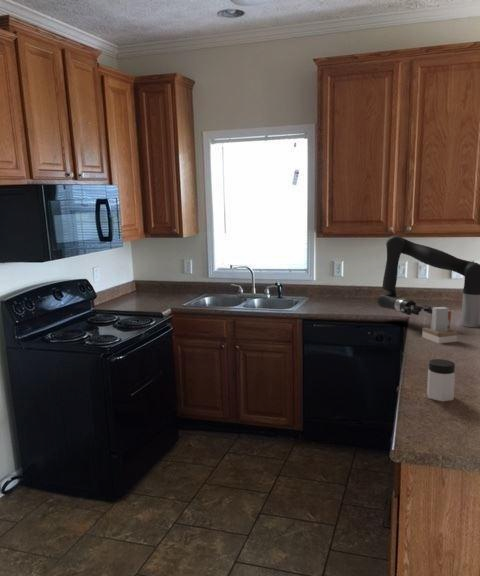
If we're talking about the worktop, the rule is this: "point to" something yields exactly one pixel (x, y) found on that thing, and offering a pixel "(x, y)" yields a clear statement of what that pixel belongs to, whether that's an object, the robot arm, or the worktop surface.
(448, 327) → the small box
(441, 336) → the wooden tray
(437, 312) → the skincare box
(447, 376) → the jar
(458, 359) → the worktop surface
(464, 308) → the robot arm
